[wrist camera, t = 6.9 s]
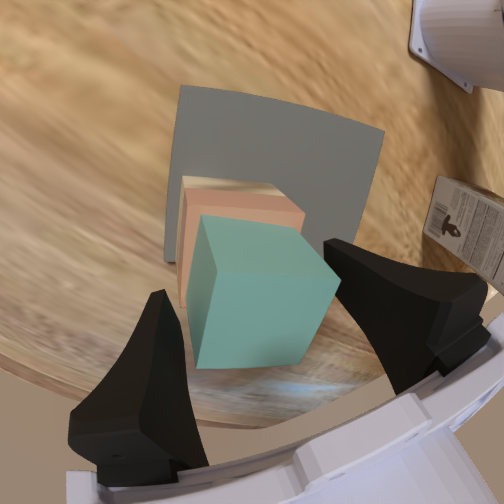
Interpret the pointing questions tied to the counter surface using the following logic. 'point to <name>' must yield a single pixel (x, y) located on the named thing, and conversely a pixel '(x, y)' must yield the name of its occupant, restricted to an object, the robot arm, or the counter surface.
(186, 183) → the maple slab
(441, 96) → the counter surface
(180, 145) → the slate board
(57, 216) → the counter surface
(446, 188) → the coffee box
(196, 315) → the teal block
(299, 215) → the terracotta slab
